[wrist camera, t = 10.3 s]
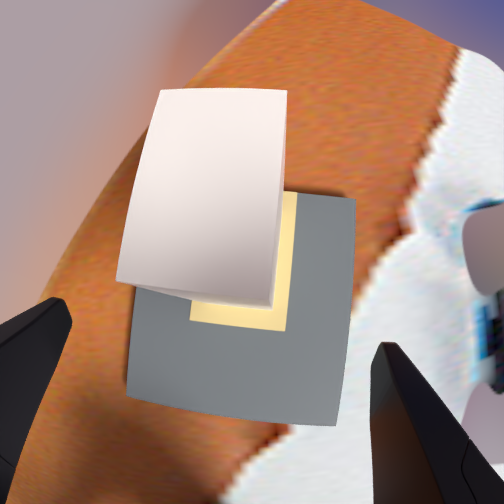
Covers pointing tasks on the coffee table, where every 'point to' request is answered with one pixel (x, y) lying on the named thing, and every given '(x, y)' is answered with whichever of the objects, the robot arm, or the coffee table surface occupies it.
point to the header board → (258, 331)
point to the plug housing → (209, 198)
